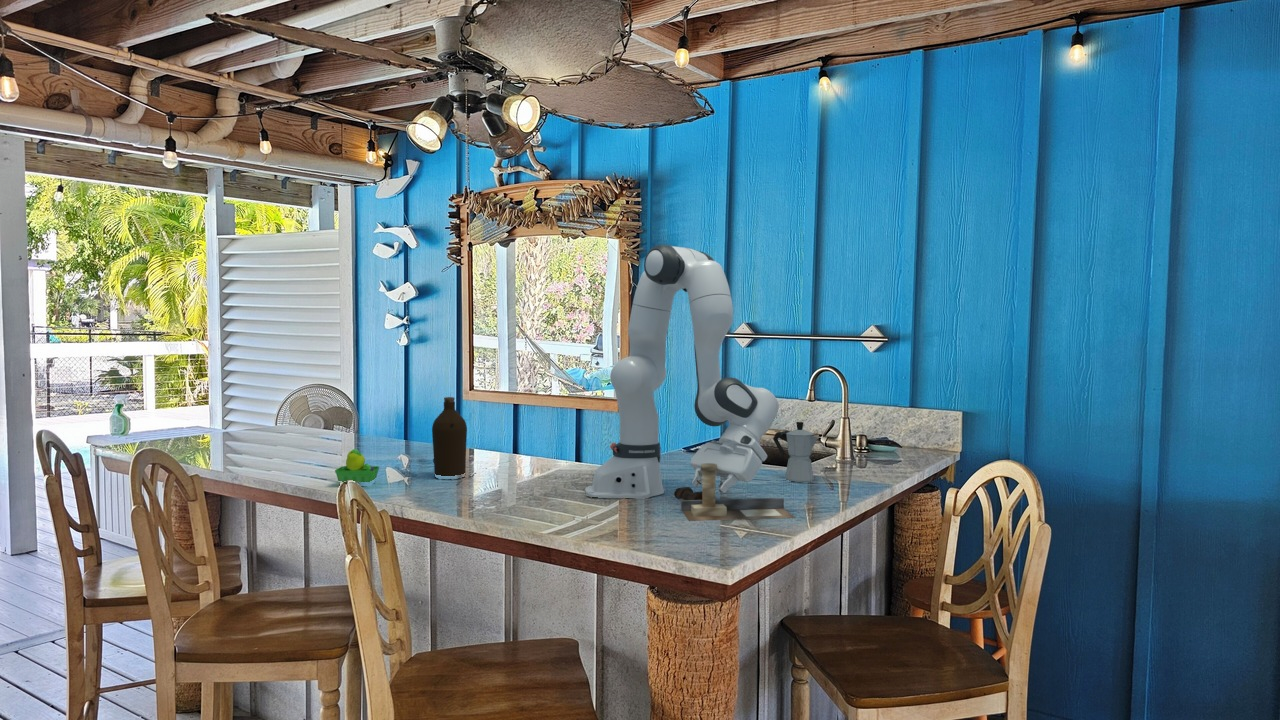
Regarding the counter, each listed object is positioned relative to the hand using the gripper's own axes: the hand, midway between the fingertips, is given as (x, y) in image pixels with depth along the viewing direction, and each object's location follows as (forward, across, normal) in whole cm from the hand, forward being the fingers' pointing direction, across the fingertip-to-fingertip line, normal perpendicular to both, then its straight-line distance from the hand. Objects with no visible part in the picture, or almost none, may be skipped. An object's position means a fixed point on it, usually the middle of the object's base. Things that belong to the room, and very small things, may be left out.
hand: (707, 487), depth 203 cm
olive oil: (+25, -91, -13) cm, 95 cm away
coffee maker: (-34, -23, +46) cm, 62 cm away
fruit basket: (+44, -95, -33) cm, 110 cm away
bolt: (0, -16, +12) cm, 19 cm away
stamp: (+4, 0, +5) cm, 7 cm away
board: (+1, +4, +10) cm, 11 cm away
